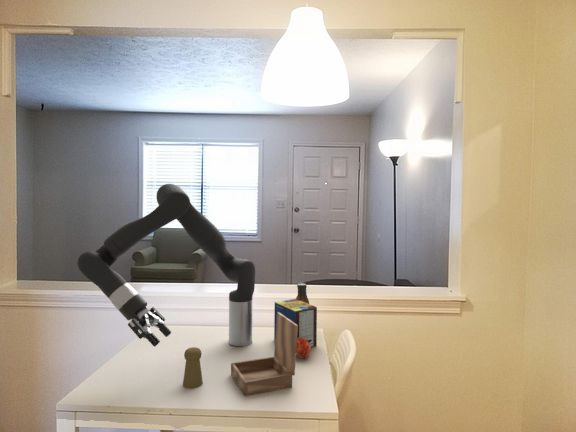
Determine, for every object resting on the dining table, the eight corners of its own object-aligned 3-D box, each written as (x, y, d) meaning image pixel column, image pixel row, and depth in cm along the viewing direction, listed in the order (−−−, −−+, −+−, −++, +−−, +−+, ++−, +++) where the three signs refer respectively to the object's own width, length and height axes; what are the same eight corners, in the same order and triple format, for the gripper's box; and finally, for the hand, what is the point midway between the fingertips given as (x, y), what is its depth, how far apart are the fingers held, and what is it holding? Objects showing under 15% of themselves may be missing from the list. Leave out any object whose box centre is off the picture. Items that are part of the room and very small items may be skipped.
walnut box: (230, 375, 133) (231, 363, 133) (274, 368, 139) (274, 356, 139) (244, 396, 120) (244, 382, 119) (292, 387, 125) (292, 374, 125)
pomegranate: (293, 367, 145) (316, 351, 144) (281, 349, 147) (304, 334, 145) (297, 361, 153) (318, 346, 151) (286, 344, 154) (307, 329, 153)
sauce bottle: (311, 328, 182) (312, 283, 181) (306, 332, 176) (307, 286, 175) (298, 325, 185) (298, 282, 184) (292, 330, 179) (293, 284, 178)
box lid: (276, 312, 139) (279, 312, 139) (273, 357, 139) (276, 357, 139) (295, 325, 125) (298, 325, 125) (291, 375, 125) (294, 375, 126)
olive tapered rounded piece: (198, 389, 123) (198, 353, 123) (179, 387, 125) (179, 351, 124) (205, 380, 129) (206, 346, 129) (188, 378, 130) (188, 344, 130)
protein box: (294, 334, 173) (295, 298, 172) (316, 346, 160) (317, 306, 159) (273, 339, 167) (273, 301, 166) (294, 351, 154) (295, 310, 154)
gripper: (124, 299, 121) (162, 339, 120) (146, 288, 135) (180, 324, 134) (107, 316, 122) (144, 356, 121) (131, 303, 136) (164, 339, 135)
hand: (163, 339), depth 127 cm, fingers open, 8 cm apart
